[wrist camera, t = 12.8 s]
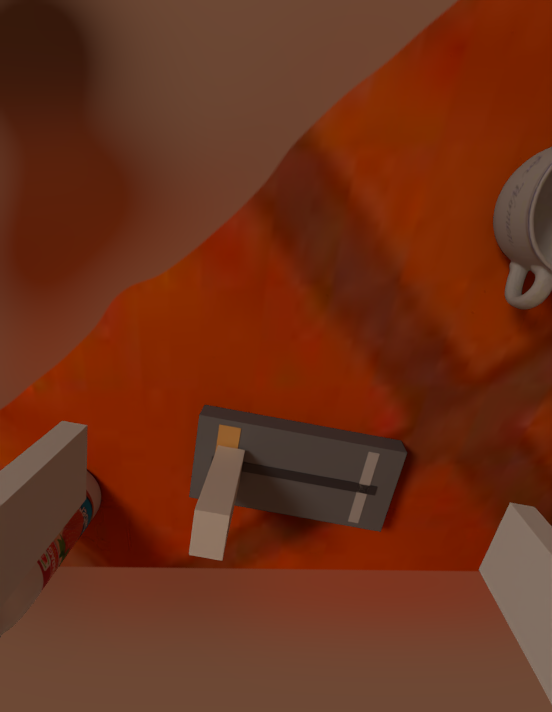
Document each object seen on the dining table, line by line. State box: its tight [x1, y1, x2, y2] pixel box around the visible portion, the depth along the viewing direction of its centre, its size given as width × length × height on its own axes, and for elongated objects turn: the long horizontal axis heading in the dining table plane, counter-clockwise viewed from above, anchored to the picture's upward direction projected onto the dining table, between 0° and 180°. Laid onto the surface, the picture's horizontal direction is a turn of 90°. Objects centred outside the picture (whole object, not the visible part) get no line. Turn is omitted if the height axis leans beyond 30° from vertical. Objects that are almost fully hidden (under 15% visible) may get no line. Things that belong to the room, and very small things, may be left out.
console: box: [189, 405, 407, 532], centre depth 43 cm, size 23×11×3 cm, turn 80°
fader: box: [189, 445, 245, 561], centre depth 37 cm, size 3×5×10 cm, turn 170°
